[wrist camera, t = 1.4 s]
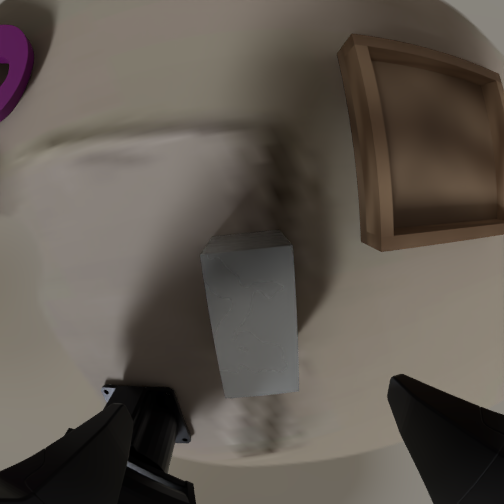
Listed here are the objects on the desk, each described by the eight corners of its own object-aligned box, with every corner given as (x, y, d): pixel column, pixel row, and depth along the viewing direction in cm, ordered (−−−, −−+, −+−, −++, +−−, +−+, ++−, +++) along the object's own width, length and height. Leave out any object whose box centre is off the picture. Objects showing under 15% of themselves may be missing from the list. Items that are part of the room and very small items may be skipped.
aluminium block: (287, 345, 19) (299, 391, 14) (229, 351, 19) (225, 398, 14) (279, 229, 17) (292, 245, 12) (212, 236, 17) (199, 254, 12)
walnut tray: (494, 226, 17) (518, 232, 14) (360, 241, 17) (381, 252, 14) (477, 81, 14) (499, 74, 12) (336, 53, 15) (351, 33, 12)
